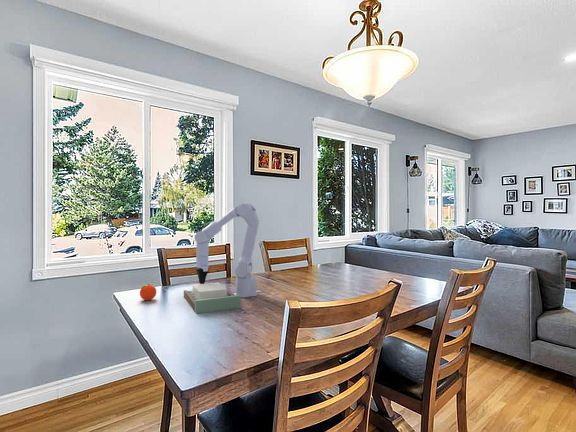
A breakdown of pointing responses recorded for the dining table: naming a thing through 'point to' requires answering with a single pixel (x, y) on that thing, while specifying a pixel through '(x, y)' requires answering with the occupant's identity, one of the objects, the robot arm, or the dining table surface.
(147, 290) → the clementine
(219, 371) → the dining table surface
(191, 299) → the roller track
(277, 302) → the dining table surface
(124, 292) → the dining table surface
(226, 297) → the bar
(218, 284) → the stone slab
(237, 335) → the dining table surface
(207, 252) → the robot arm
